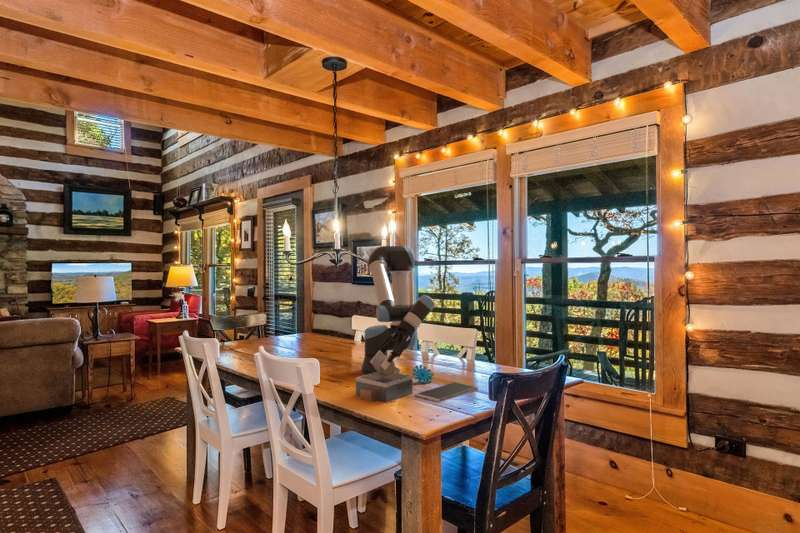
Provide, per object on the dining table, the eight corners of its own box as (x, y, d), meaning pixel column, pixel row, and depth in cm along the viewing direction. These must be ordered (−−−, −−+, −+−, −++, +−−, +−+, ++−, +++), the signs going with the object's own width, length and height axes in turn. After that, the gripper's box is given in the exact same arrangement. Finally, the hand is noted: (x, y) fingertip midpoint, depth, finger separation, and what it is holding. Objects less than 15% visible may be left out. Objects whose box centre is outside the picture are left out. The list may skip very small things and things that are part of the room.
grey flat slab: (414, 397, 197) (414, 393, 197) (455, 385, 216) (455, 381, 216) (438, 404, 187) (438, 400, 187) (478, 390, 206) (478, 386, 206)
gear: (415, 381, 214) (411, 363, 221) (411, 388, 218) (407, 370, 225) (437, 382, 218) (433, 364, 225) (432, 389, 221) (428, 371, 228)
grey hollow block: (350, 396, 197) (350, 378, 197) (382, 386, 212) (382, 370, 212) (381, 404, 186) (381, 385, 186) (412, 393, 201) (412, 375, 201)
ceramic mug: (379, 376, 195) (379, 358, 195) (372, 372, 202) (373, 354, 202) (403, 374, 199) (403, 356, 199) (395, 370, 206) (395, 353, 206)
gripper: (427, 333, 199) (395, 376, 190) (401, 328, 217) (371, 367, 209) (417, 321, 196) (384, 364, 188) (391, 317, 214) (360, 356, 206)
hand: (377, 365), depth 198 cm, fingers closed on ceramic mug, 9 cm apart
